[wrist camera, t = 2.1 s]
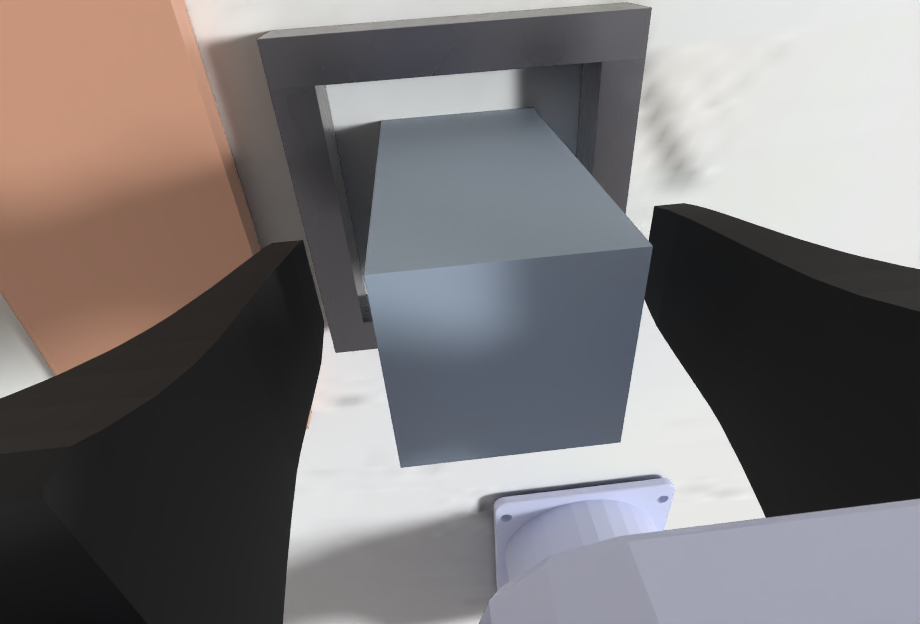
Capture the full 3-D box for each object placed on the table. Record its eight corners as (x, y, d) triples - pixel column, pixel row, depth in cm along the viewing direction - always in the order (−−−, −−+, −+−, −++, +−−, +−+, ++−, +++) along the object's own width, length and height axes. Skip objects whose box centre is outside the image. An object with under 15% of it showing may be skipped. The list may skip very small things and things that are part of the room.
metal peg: (530, 242, 16) (620, 442, 10) (400, 255, 16) (401, 468, 9) (532, 107, 14) (652, 246, 7) (381, 120, 14) (364, 275, 7)
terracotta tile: (311, 411, 19) (308, 428, 18) (116, 433, 19) (105, 450, 18) (127, -183, 10) (108, -191, 9) (-257, -159, 10) (-305, -168, 9)
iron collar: (596, 297, 17) (611, 323, 16) (340, 323, 17) (335, 352, 16) (627, 2, 13) (651, 8, 11) (271, 30, 12) (256, 39, 11)
